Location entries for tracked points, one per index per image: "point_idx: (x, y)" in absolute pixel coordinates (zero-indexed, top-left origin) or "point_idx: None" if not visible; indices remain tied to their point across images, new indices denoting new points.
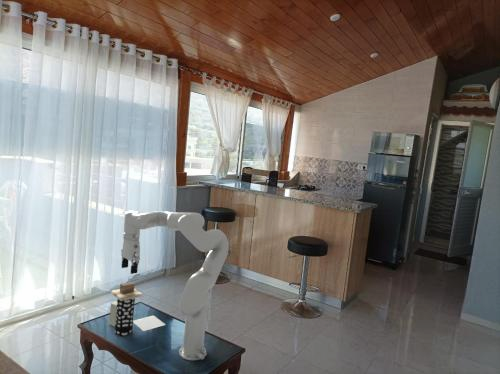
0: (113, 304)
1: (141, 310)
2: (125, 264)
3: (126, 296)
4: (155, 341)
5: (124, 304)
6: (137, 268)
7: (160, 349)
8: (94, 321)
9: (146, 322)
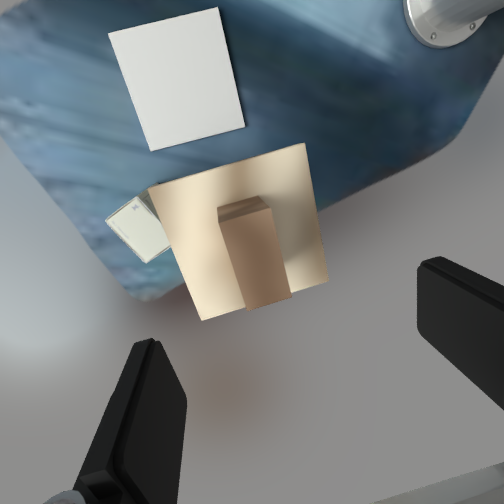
0: (160, 253)
1: (33, 75)
2: (165, 411)
3: (311, 251)
4: (319, 102)
5: None
6: (497, 283)
7: (371, 102)
8: (123, 272)
9: (176, 92)
